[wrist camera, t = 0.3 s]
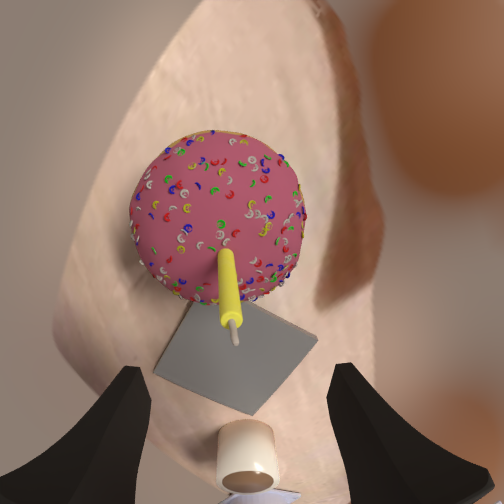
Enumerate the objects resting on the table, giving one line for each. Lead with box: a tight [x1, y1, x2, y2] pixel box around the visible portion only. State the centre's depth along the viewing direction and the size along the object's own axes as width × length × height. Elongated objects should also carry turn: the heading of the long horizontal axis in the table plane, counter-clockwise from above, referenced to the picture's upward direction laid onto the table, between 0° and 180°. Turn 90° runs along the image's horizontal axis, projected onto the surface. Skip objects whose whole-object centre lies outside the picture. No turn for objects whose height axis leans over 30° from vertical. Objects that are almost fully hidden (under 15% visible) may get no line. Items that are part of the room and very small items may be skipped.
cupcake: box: [129, 130, 307, 346], centre depth 13 cm, size 9×8×12 cm
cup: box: [216, 419, 280, 495], centre depth 22 cm, size 5×5×6 cm
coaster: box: [153, 301, 318, 416], centre depth 21 cm, size 9×9×1 cm
